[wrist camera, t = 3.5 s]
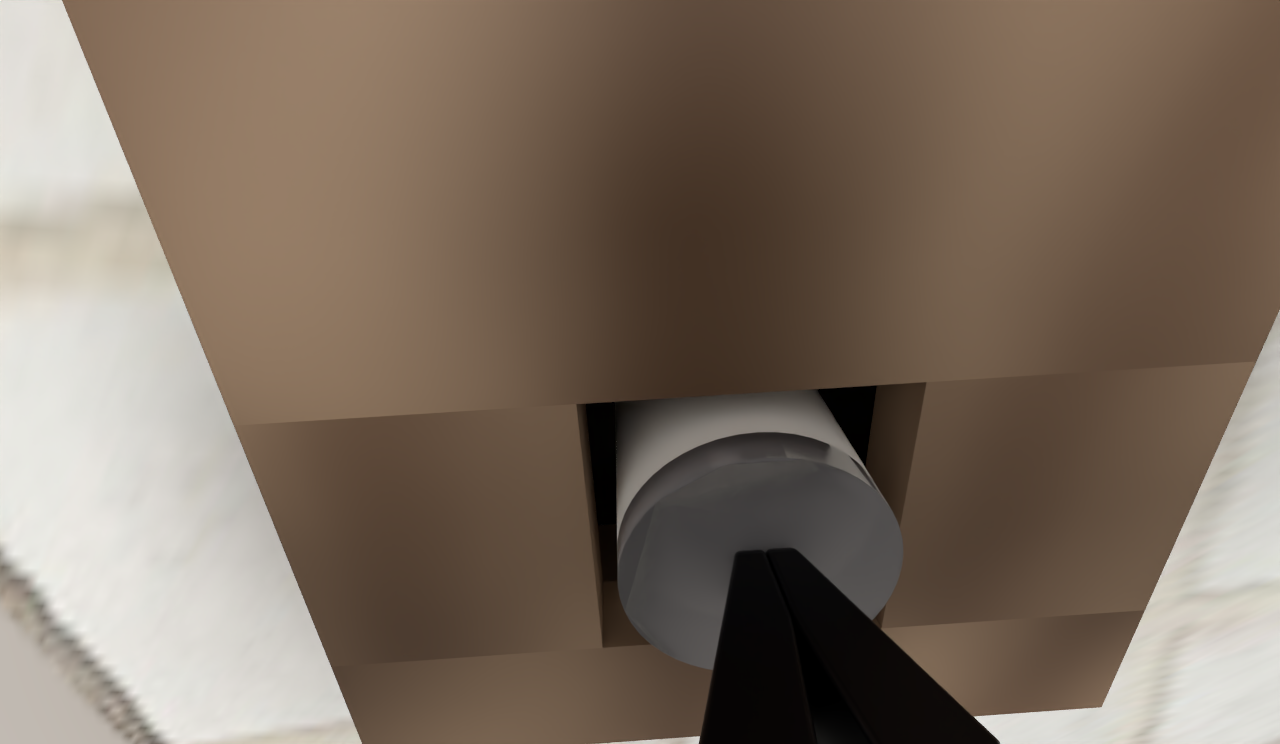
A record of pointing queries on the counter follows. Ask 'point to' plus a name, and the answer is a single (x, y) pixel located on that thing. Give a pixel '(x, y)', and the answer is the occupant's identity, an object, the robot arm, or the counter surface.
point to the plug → (739, 508)
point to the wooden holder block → (706, 306)
